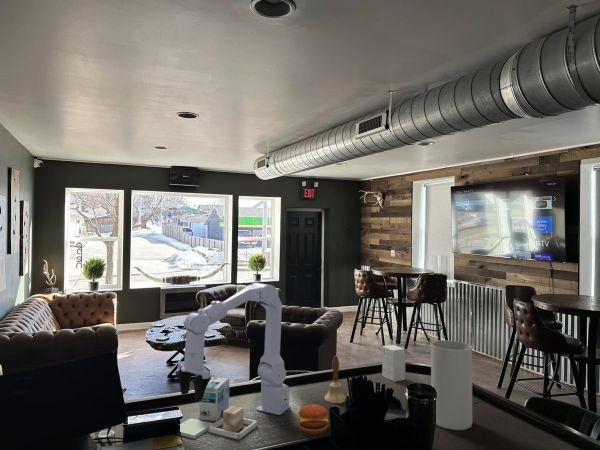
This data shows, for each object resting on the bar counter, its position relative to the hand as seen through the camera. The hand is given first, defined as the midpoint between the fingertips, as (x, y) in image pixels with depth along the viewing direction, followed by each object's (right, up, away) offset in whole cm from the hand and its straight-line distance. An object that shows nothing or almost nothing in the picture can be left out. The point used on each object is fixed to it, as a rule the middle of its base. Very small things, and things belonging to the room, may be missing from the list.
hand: (191, 397), depth 131 cm
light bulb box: (+5, -11, +12) cm, 17 cm away
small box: (+74, -12, +50) cm, 90 cm away
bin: (+13, -11, +1) cm, 16 cm away
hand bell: (+47, -12, +26) cm, 55 cm away
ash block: (+13, -11, +1) cm, 17 cm away
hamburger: (+38, -11, +3) cm, 39 cm away
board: (0, -10, +1) cm, 10 cm away
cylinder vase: (+83, -11, +6) cm, 84 cm away
